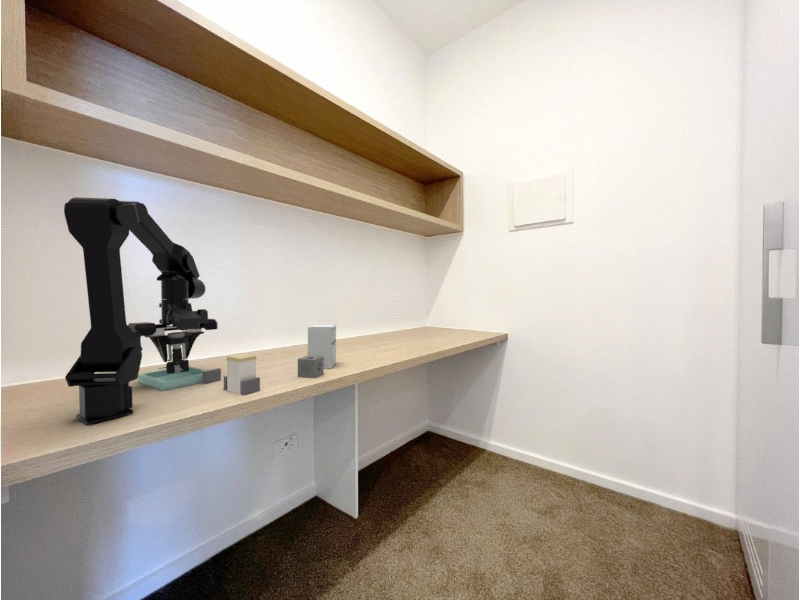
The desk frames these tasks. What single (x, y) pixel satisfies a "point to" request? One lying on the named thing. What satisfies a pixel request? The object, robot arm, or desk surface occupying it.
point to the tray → (171, 378)
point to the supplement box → (323, 343)
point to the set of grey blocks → (215, 375)
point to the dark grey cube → (310, 366)
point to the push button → (176, 353)
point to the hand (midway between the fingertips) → (175, 360)
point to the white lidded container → (239, 370)
